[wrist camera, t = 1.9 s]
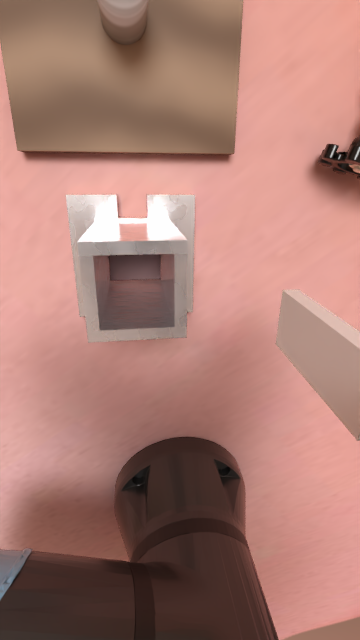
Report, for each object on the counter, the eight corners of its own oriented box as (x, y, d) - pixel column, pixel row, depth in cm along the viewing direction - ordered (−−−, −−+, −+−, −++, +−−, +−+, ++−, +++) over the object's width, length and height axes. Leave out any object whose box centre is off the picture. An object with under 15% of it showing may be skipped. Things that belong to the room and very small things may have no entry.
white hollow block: (190, 306, 32) (216, 363, 22) (81, 310, 31) (58, 373, 21) (192, 194, 29) (224, 202, 19) (69, 194, 27) (32, 202, 17)
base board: (229, 154, 28) (261, 146, 21) (23, 152, 26) (-16, 141, 19) (244, -124, 22) (295, -264, 15) (-24, -155, 20) (-106, -333, 13)
